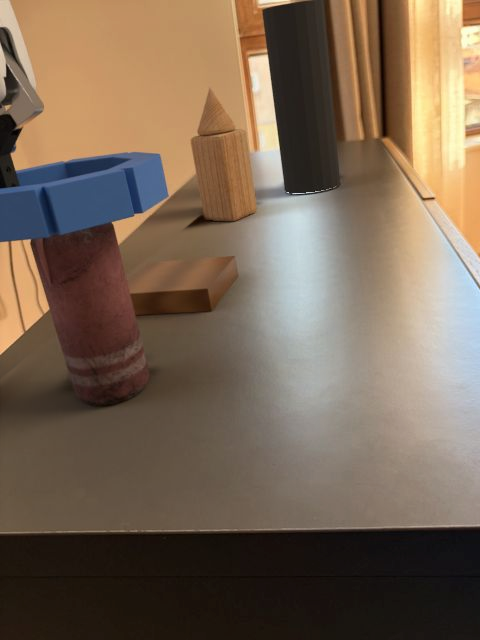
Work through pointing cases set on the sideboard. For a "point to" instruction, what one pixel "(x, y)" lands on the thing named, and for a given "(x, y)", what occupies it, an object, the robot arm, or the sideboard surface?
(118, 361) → the can
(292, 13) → the vase
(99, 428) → the sideboard surface
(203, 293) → the platform
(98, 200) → the ring
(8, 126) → the robot arm
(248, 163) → the decorative item
